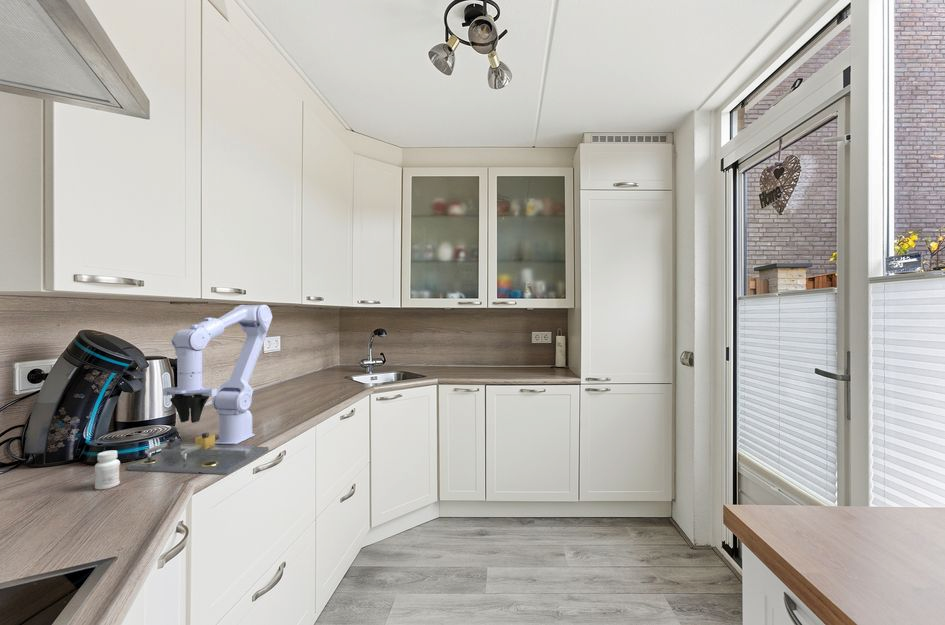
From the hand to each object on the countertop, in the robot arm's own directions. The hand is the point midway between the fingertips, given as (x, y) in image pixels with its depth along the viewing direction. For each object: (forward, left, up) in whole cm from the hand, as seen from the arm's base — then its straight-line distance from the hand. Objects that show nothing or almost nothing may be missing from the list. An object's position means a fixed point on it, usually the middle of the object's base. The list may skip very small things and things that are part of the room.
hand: (190, 421), depth 113 cm
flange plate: (+2, +5, -10) cm, 11 cm away
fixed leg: (+3, -6, -8) cm, 10 cm away
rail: (0, +5, -9) cm, 10 cm away
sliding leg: (+3, +5, -8) cm, 10 cm away
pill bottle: (+19, -4, -10) cm, 22 cm away
